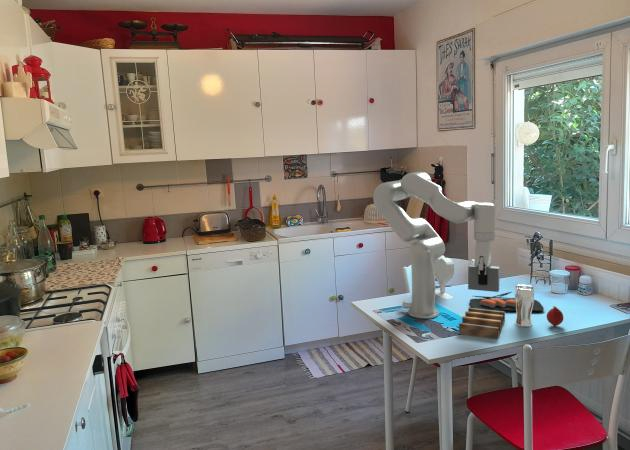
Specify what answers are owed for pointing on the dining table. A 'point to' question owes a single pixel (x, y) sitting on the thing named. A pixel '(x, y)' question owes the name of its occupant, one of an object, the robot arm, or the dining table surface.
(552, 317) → the onion
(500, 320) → the rack
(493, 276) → the grey rectangular block
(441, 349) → the dining table surface
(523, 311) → the beer glass
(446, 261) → the heart sculpture
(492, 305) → the sushi plate
